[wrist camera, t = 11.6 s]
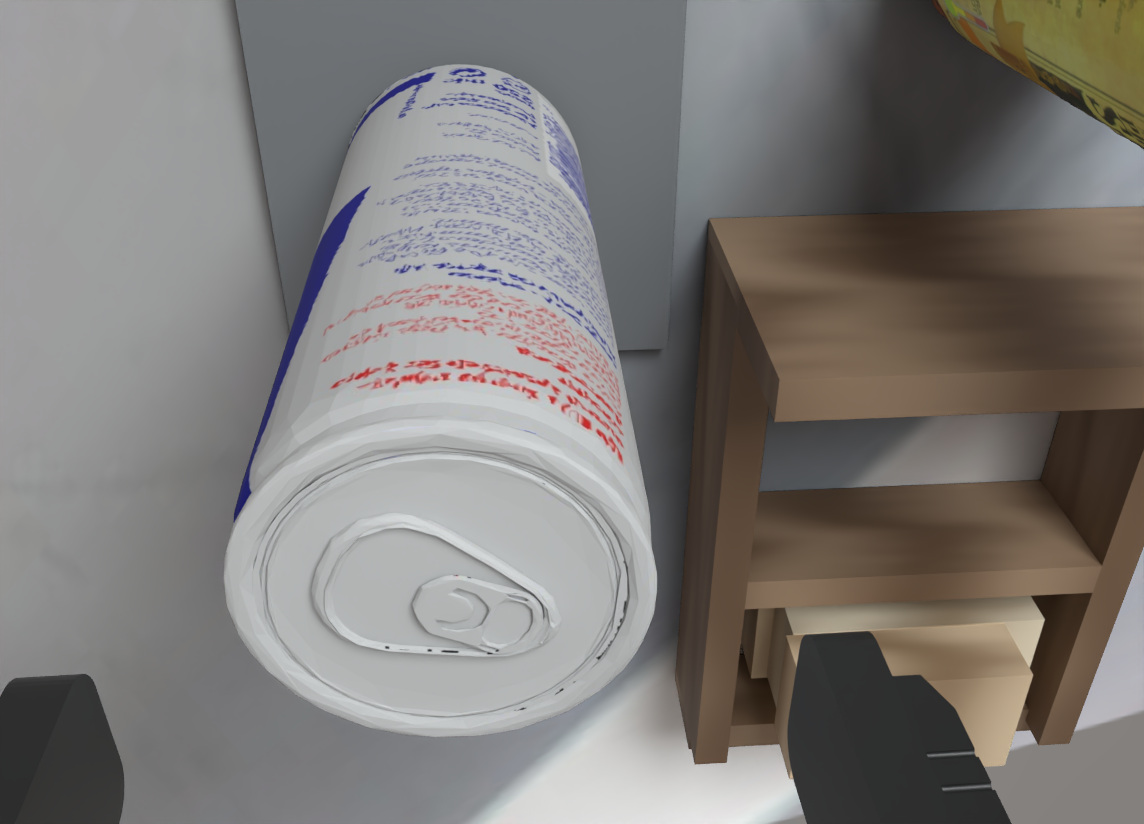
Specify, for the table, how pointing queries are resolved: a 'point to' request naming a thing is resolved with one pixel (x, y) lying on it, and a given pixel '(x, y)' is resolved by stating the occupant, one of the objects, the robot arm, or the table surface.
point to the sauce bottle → (1067, 50)
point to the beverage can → (448, 433)
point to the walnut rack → (912, 389)
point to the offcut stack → (917, 655)
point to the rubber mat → (506, 43)
